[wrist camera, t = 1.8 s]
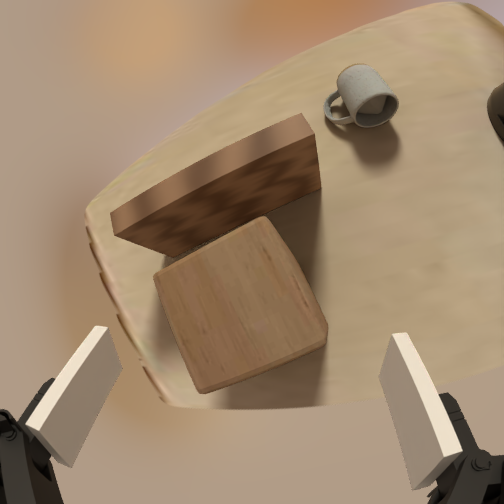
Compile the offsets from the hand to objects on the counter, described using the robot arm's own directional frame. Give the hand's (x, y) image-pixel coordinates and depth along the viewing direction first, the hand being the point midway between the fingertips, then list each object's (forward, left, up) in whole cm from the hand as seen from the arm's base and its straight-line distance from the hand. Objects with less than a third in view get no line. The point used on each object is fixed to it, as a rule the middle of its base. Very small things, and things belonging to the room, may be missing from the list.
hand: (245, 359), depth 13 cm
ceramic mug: (+3, -34, -27) cm, 43 cm away
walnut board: (+14, -11, -27) cm, 32 cm away
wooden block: (+4, -1, -27) cm, 27 cm away
